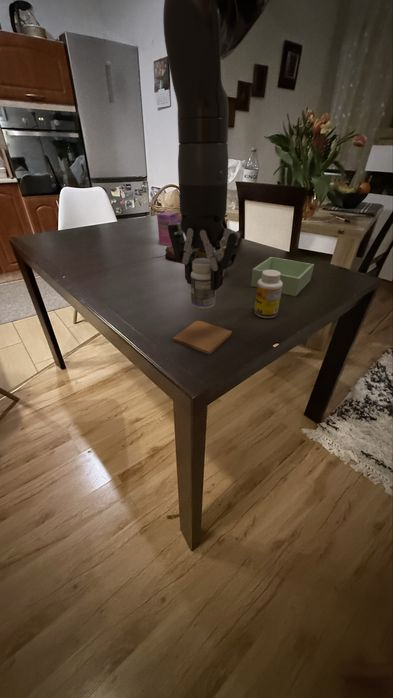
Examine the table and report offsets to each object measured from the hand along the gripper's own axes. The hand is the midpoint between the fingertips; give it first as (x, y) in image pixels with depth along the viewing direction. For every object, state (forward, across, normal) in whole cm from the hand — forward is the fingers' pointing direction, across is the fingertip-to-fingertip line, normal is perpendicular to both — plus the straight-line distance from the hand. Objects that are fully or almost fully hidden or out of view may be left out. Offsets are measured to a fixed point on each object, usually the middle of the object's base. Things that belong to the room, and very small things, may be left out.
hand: (203, 285), depth 53 cm
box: (+12, +53, -55) cm, 77 cm away
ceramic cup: (+12, +18, -32) cm, 39 cm away
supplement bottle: (+12, -7, -17) cm, 22 cm away
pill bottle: (+4, 0, 0) cm, 4 cm away
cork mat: (+12, 0, 0) cm, 12 cm away
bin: (+12, -3, -37) cm, 39 cm away
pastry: (+12, +36, -41) cm, 56 cm away
